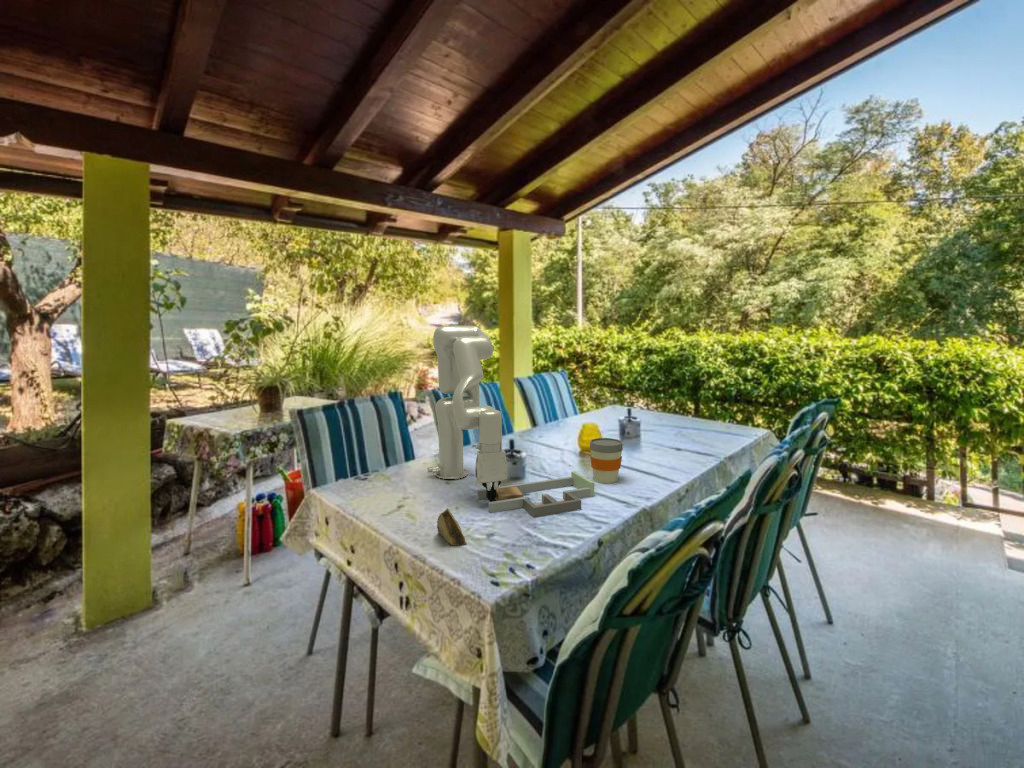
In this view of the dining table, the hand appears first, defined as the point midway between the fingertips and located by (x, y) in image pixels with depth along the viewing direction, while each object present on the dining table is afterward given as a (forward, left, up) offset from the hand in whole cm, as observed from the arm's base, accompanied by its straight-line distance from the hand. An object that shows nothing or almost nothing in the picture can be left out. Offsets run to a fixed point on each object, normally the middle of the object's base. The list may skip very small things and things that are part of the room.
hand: (491, 500), depth 159 cm
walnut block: (+6, 0, -2) cm, 6 cm away
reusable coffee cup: (+49, +7, -2) cm, 50 cm away
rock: (-19, -20, -2) cm, 28 cm away
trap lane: (+16, -4, -1) cm, 17 cm away
